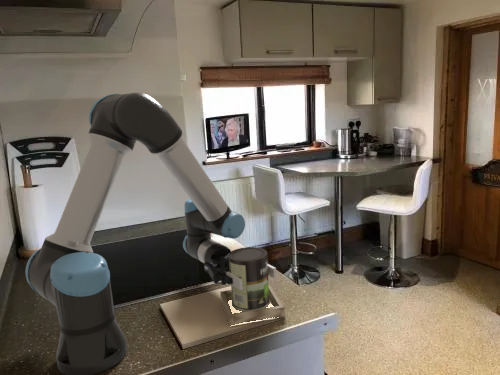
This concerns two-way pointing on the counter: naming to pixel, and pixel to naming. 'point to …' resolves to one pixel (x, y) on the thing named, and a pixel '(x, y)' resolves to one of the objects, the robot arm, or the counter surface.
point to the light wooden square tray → (254, 314)
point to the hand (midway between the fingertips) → (258, 278)
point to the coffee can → (250, 278)
